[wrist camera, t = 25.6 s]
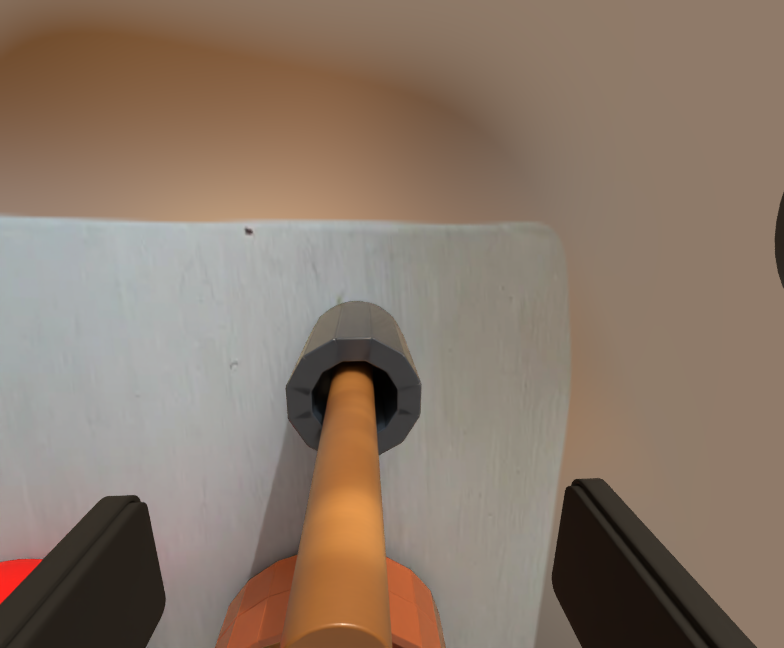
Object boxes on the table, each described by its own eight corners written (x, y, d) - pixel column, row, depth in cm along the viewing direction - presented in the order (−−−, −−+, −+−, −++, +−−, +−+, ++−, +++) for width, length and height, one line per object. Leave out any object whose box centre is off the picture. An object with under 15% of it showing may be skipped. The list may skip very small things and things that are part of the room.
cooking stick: (369, 327, 21) (390, 619, 6) (371, 357, 21) (396, 702, 6) (337, 329, 21) (267, 633, 5) (340, 359, 21) (283, 717, 6)
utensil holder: (403, 300, 21) (423, 336, 14) (402, 387, 23) (419, 457, 16) (307, 301, 21) (281, 339, 14) (312, 389, 22) (290, 462, 15)
